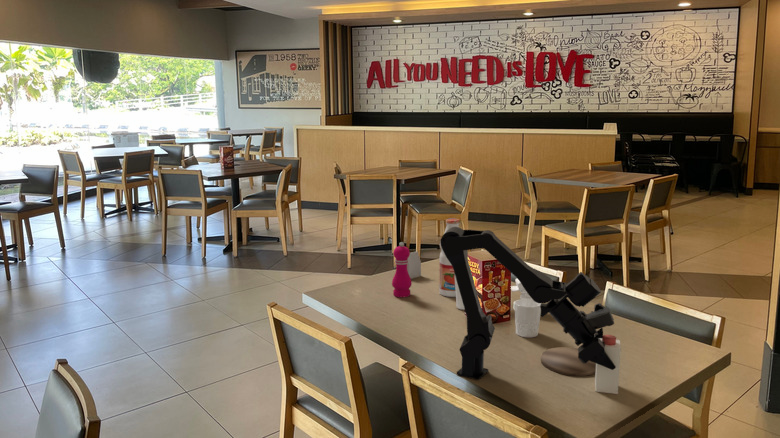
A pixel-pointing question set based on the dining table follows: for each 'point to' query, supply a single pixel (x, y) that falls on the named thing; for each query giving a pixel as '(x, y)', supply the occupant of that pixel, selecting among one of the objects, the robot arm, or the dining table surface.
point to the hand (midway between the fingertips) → (613, 363)
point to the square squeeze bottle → (604, 376)
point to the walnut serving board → (566, 362)
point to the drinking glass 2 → (458, 297)
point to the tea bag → (414, 265)
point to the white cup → (527, 317)
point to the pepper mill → (401, 272)
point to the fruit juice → (447, 267)
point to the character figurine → (520, 288)
